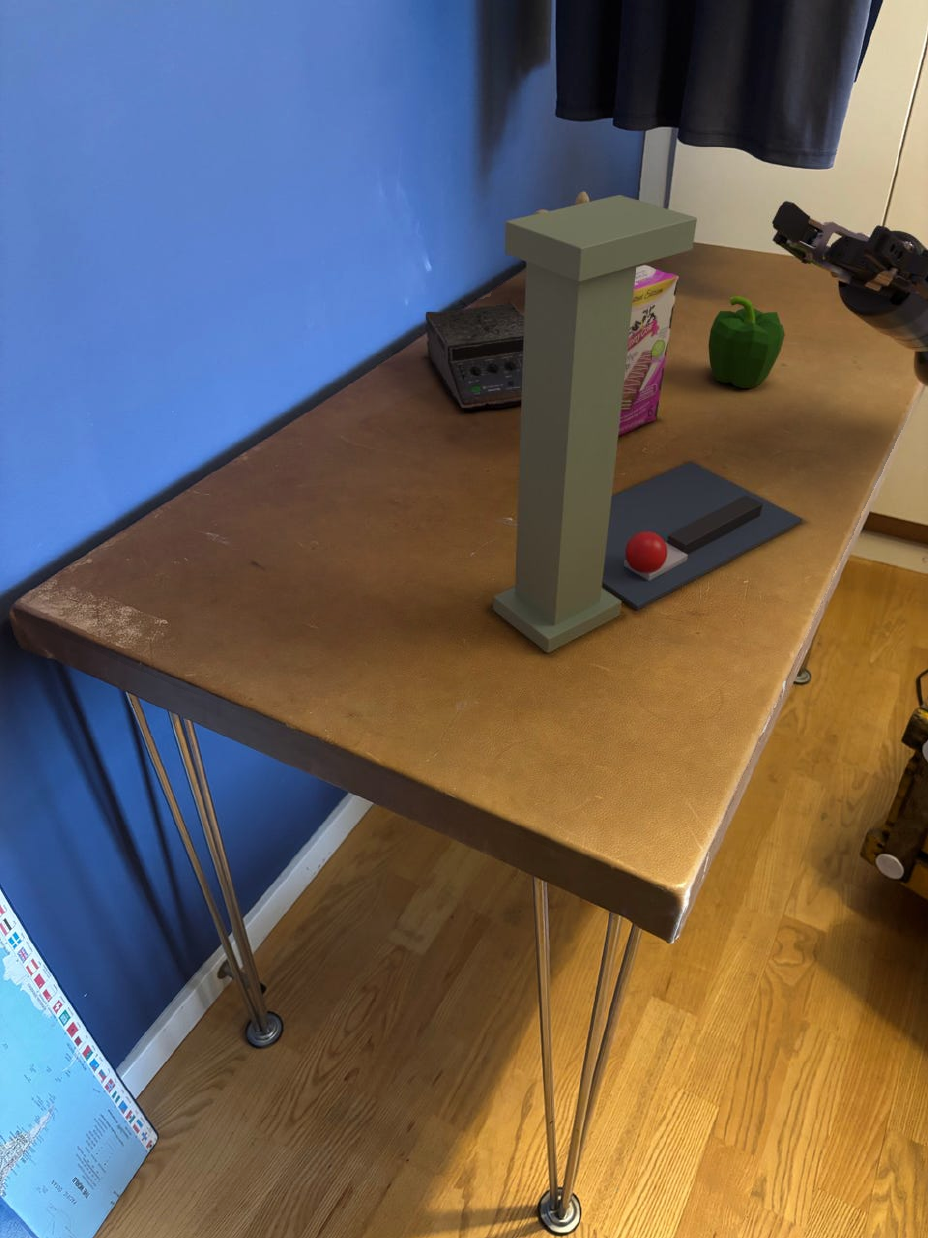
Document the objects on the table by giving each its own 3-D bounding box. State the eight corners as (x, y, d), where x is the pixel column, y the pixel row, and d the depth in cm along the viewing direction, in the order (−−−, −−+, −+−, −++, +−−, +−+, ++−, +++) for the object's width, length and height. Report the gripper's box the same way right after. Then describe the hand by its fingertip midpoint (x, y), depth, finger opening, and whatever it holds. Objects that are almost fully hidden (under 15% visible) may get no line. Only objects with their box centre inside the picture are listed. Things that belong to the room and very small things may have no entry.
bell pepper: (785, 377, 112) (803, 296, 105) (755, 400, 107) (773, 316, 101) (722, 360, 116) (737, 280, 110) (691, 381, 111) (704, 300, 105)
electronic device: (461, 416, 105) (460, 364, 101) (425, 356, 118) (423, 309, 114) (558, 402, 107) (560, 351, 103) (512, 345, 120) (513, 298, 116)
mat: (690, 465, 95) (690, 460, 95) (801, 523, 86) (802, 518, 86) (529, 536, 85) (529, 532, 85) (637, 610, 76) (637, 606, 76)
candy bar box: (591, 452, 97) (605, 299, 87) (558, 435, 100) (568, 285, 90) (660, 420, 103) (681, 273, 93) (627, 405, 106) (643, 261, 96)
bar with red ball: (736, 503, 88) (743, 471, 86) (767, 519, 86) (775, 486, 84) (614, 567, 80) (618, 533, 78) (644, 586, 78) (649, 551, 76)
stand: (584, 565, 81) (619, 194, 62) (641, 604, 77) (697, 217, 57) (492, 610, 76) (498, 222, 57) (547, 653, 72) (574, 249, 53)
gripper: (947, 352, 80) (880, 297, 69) (811, 306, 89) (731, 250, 78) (996, 268, 78) (934, 196, 66) (851, 229, 87) (775, 159, 75)
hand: (825, 225), depth 72 cm, fingers open, 8 cm apart
